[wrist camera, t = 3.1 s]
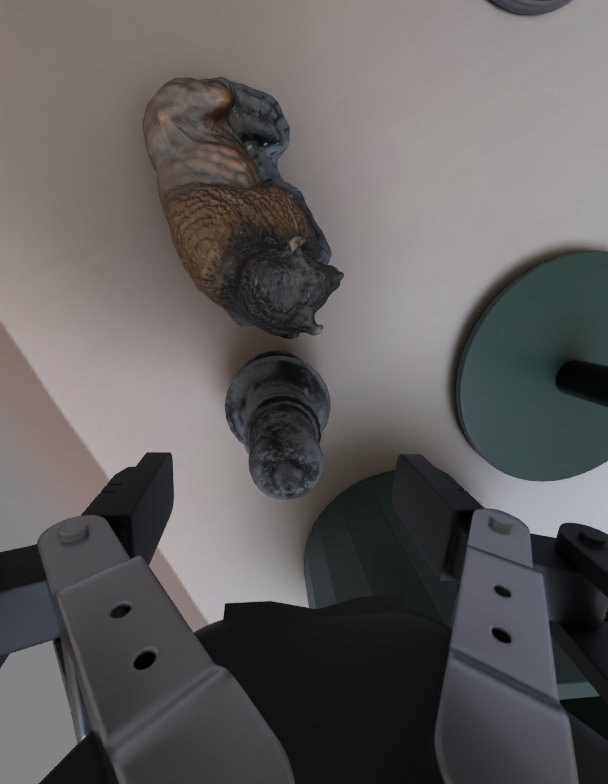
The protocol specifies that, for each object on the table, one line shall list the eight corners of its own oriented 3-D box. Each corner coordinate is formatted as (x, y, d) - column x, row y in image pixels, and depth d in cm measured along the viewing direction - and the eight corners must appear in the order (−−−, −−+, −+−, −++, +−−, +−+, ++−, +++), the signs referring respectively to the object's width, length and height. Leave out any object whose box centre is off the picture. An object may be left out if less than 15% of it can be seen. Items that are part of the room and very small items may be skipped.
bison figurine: (135, 136, 18) (-14, -50, 8) (256, 76, 18) (247, -183, 8) (242, 343, 21) (226, 381, 12) (344, 293, 21) (411, 291, 12)
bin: (310, 469, 24) (374, 700, 10) (499, 470, 26) (766, 666, 12) (298, 630, 28) (332, 954, 14) (463, 620, 30) (636, 899, 16)
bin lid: (475, 243, 21) (553, 223, 16) (692, 263, 23) (831, 252, 18) (433, 473, 26) (482, 524, 20) (620, 473, 28) (714, 520, 22)
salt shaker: (241, 440, 23) (220, 582, 12) (221, 355, 21) (173, 424, 10) (326, 423, 23) (387, 545, 12) (313, 338, 22) (368, 386, 10)
